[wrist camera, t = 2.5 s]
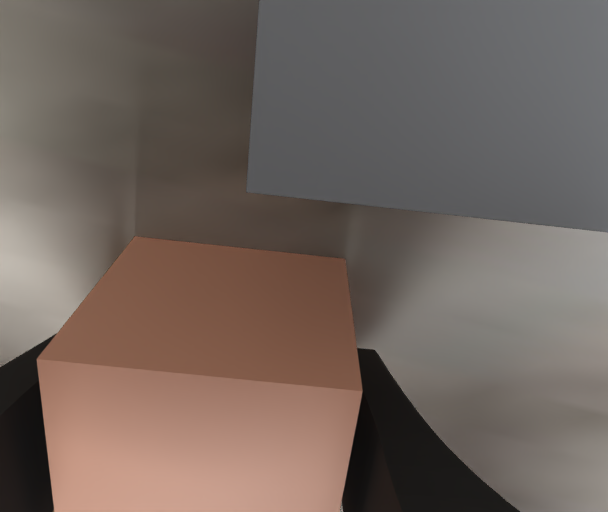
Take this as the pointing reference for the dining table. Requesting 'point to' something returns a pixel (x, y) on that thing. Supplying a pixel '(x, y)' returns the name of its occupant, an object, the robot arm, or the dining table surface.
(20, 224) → the dining table surface
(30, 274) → the dining table surface
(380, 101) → the gray block
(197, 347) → the terracotta block
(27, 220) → the dining table surface
